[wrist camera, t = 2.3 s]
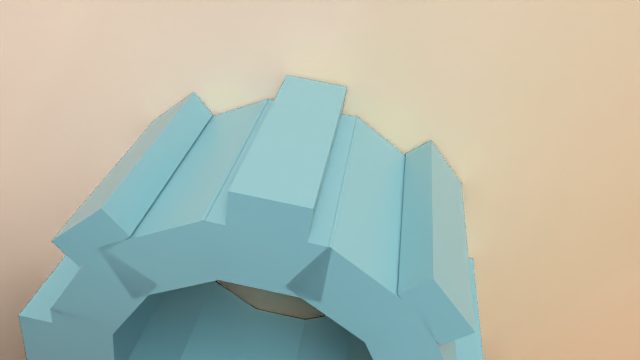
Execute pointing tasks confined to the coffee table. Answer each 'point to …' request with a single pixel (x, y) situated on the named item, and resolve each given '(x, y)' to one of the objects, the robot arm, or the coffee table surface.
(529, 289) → the coffee table surface
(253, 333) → the teal gear
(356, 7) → the coffee table surface
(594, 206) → the coffee table surface
